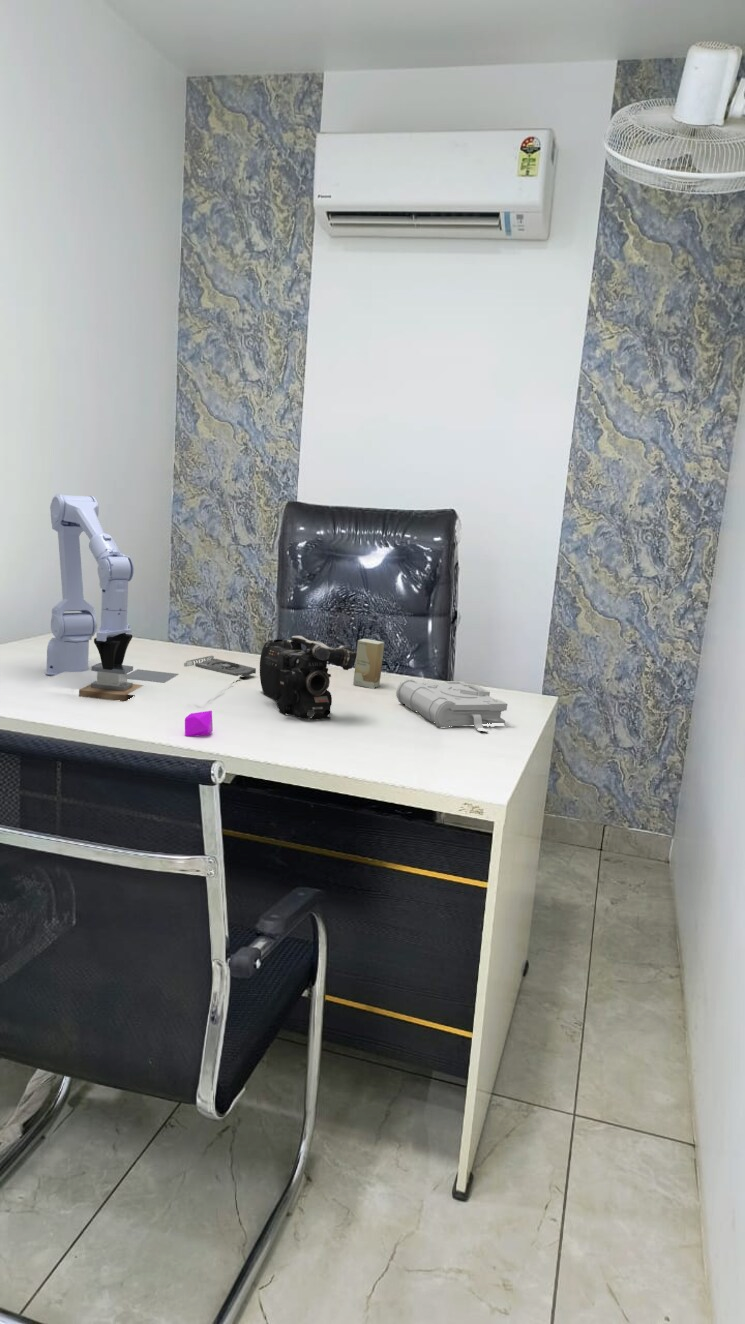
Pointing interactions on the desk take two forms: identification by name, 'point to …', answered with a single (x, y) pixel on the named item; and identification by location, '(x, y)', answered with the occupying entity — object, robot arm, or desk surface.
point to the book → (451, 703)
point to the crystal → (198, 724)
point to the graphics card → (222, 666)
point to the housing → (112, 677)
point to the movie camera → (301, 674)
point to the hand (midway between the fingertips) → (112, 667)
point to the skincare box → (368, 663)
